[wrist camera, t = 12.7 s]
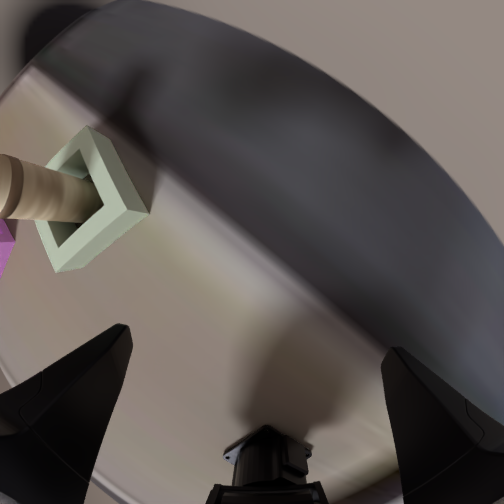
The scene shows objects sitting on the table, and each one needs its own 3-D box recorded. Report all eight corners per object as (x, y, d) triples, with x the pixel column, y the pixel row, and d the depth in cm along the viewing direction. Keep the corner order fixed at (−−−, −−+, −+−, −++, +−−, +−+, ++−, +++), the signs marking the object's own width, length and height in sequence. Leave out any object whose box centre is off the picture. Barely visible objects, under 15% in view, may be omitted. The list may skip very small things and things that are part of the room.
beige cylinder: (101, 230, 21) (-12, 227, 9) (73, 216, 22) (-34, 207, 9) (115, 189, 21) (7, 156, 9) (86, 178, 21) (-17, 146, 9)
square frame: (149, 214, 21) (127, 209, 17) (82, 267, 22) (55, 272, 18) (110, 139, 21) (86, 125, 17) (51, 194, 22) (24, 190, 18)
